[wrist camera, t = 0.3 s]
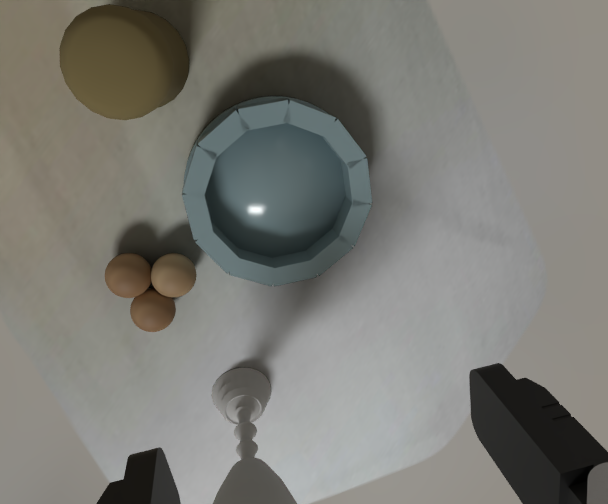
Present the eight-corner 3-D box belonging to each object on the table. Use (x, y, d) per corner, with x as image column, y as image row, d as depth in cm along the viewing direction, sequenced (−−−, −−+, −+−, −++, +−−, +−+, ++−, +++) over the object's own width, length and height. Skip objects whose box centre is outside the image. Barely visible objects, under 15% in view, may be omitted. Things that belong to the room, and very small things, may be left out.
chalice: (198, 358, 42) (192, 558, 25) (281, 353, 43) (327, 541, 27) (202, 431, 45) (198, 655, 28) (281, 424, 46) (321, 636, 29)
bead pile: (97, 262, 38) (88, 280, 35) (167, 220, 37) (163, 234, 34) (150, 326, 40) (145, 347, 37) (215, 287, 40) (216, 305, 37)
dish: (163, 114, 35) (159, 120, 32) (349, 80, 36) (361, 82, 33) (207, 285, 40) (207, 303, 37) (369, 249, 41) (381, 265, 38)
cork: (165, -5, 32) (145, -30, 22) (203, 90, 35) (201, 106, 25) (74, 29, 32) (12, 18, 22) (119, 122, 34) (81, 151, 24)
